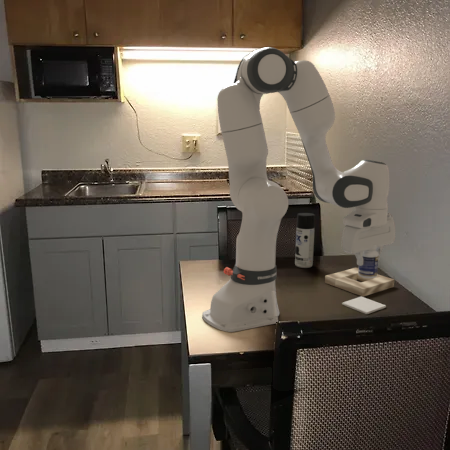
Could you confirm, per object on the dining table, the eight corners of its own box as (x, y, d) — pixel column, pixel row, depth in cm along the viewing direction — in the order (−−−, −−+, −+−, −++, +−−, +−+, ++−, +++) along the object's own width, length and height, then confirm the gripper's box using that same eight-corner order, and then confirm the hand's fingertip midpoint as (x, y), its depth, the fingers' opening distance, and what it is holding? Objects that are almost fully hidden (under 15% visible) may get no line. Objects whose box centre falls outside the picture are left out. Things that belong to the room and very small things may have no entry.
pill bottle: (378, 279, 136) (380, 246, 134) (358, 278, 137) (360, 245, 135) (376, 273, 141) (378, 241, 139) (357, 272, 142) (359, 241, 140)
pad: (366, 314, 135) (366, 312, 135) (342, 304, 142) (342, 302, 142) (385, 307, 140) (386, 305, 140) (361, 298, 147) (361, 296, 147)
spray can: (291, 263, 182) (293, 212, 178) (307, 262, 184) (310, 212, 180) (299, 268, 176) (301, 216, 172) (315, 267, 178) (318, 215, 174)
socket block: (363, 296, 149) (363, 289, 148) (324, 282, 161) (325, 275, 161) (393, 286, 158) (394, 279, 157) (355, 274, 170) (355, 267, 170)
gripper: (384, 210, 144) (381, 254, 147) (338, 219, 132) (336, 266, 135) (402, 213, 139) (398, 258, 142) (357, 223, 127) (354, 272, 130)
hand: (368, 262), depth 138 cm, fingers closed on pill bottle, 5 cm apart
